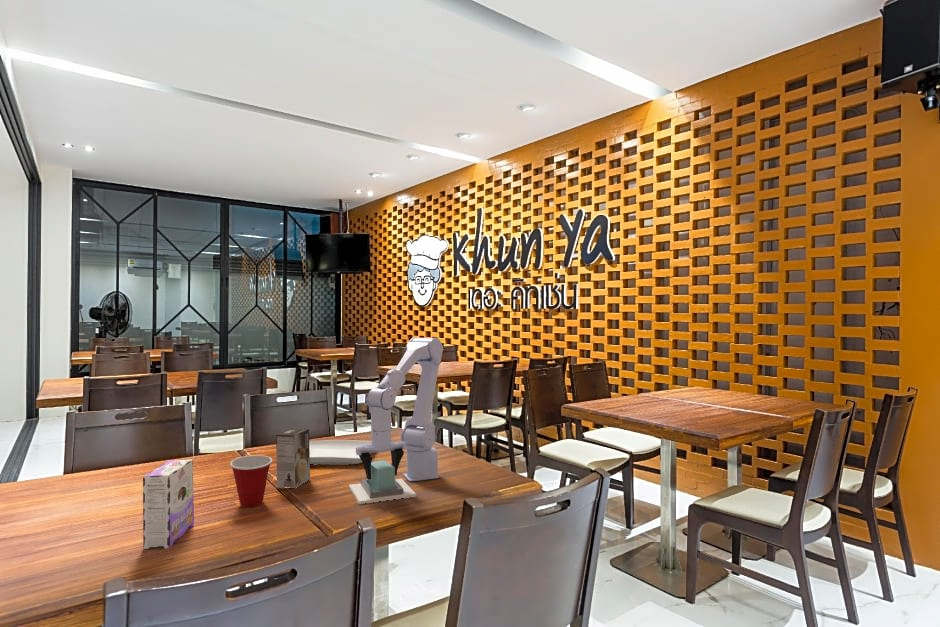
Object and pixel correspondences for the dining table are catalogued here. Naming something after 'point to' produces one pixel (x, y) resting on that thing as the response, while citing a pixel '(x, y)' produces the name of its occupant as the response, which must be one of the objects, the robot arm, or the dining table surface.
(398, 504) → the dining table surface
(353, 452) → the square plate
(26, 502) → the dining table surface
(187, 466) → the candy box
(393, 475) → the teal block
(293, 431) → the coffee box
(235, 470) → the plastic cup
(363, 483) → the socket board
